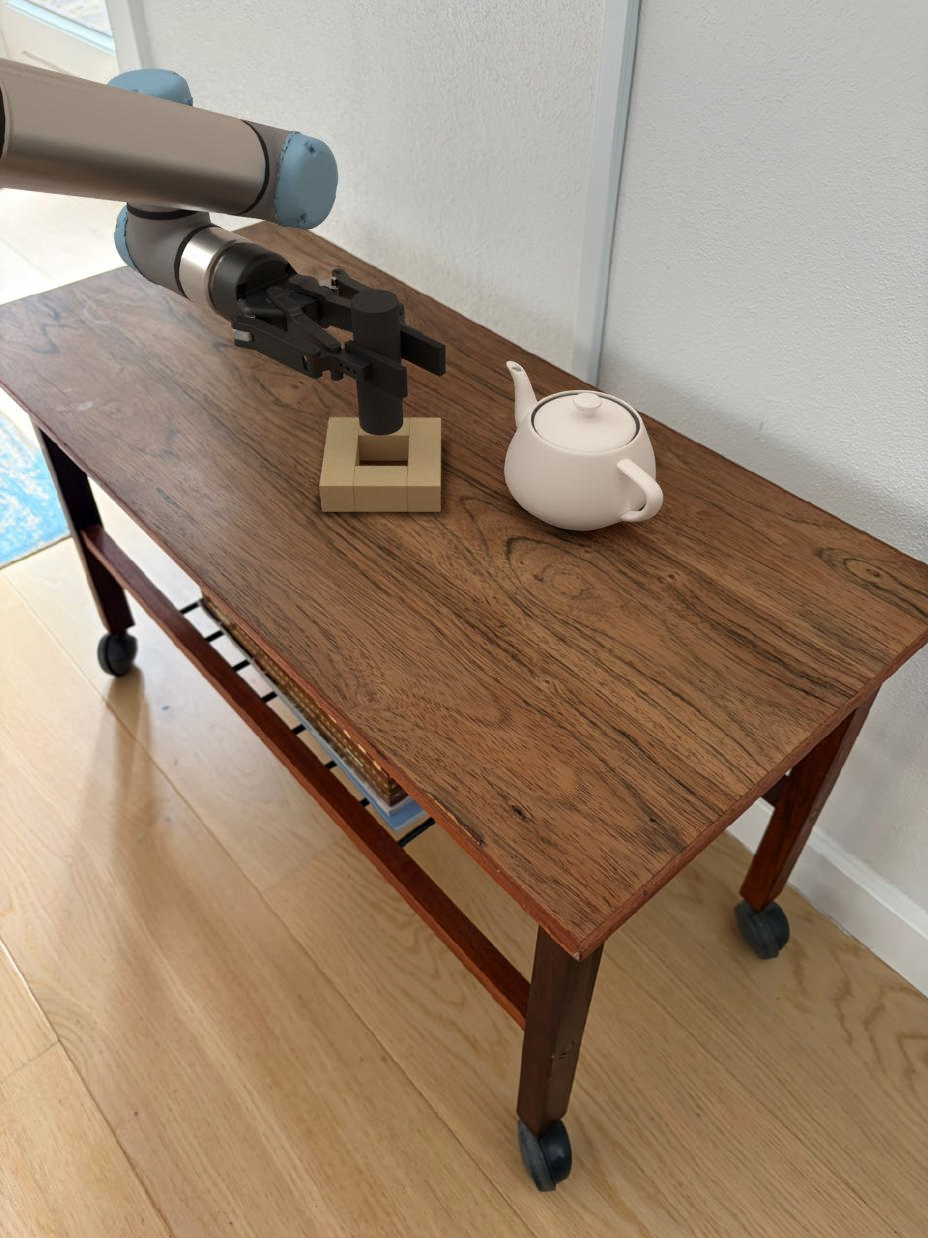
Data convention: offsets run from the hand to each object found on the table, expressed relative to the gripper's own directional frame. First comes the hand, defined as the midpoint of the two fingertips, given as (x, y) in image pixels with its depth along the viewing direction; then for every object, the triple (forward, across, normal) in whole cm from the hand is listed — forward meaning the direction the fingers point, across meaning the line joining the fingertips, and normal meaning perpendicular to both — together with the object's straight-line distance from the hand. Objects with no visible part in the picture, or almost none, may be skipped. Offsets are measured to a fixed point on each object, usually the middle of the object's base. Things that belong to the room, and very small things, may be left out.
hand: (423, 371), depth 85 cm
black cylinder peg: (-5, 0, -8) cm, 9 cm away
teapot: (+10, -10, -14) cm, 19 cm away
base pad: (-5, 0, -14) cm, 15 cm away
